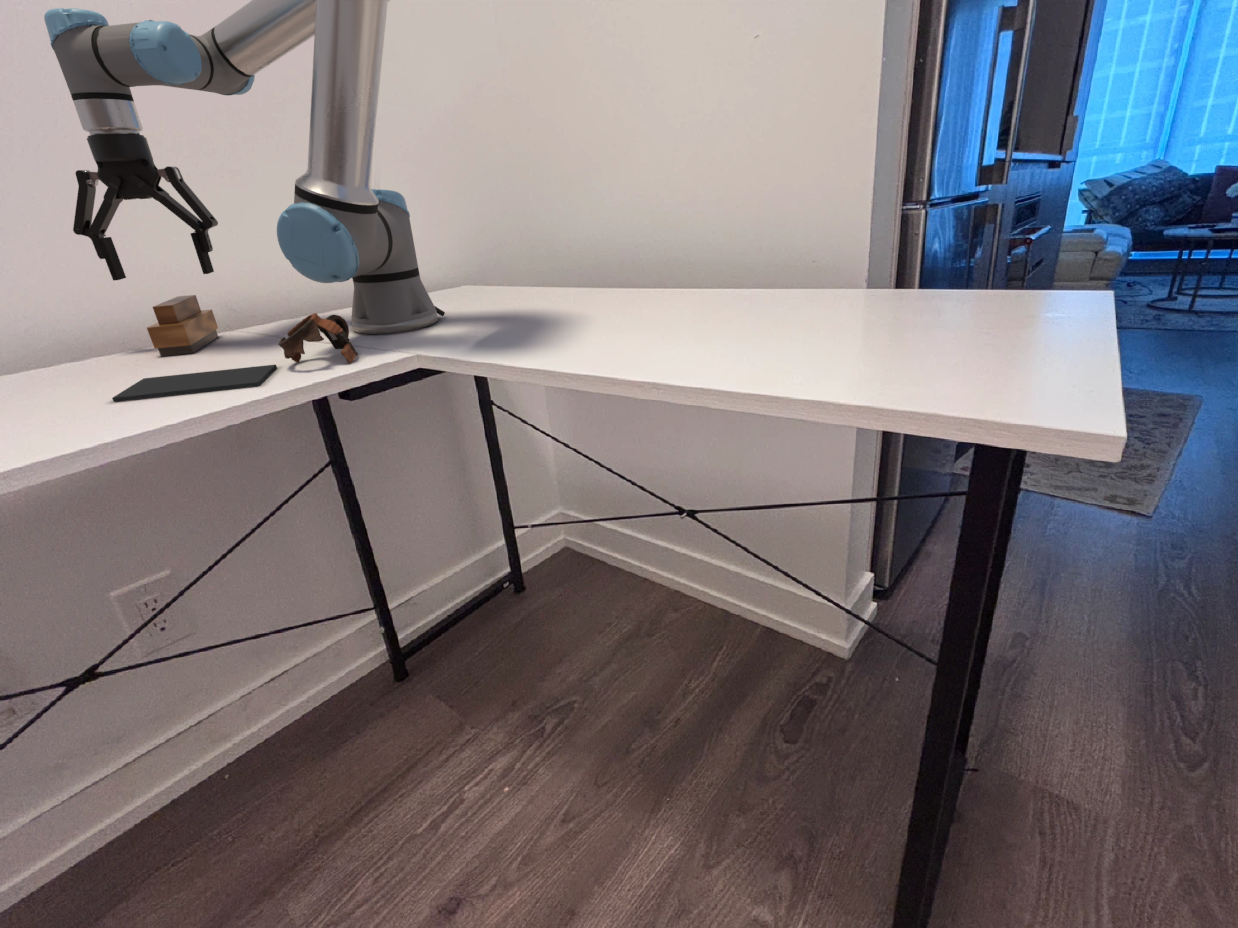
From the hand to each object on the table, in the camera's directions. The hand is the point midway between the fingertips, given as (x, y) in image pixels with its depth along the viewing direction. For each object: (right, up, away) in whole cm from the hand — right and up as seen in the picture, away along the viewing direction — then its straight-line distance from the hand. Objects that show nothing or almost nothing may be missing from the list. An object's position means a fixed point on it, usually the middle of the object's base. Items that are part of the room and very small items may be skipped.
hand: (164, 276), depth 105 cm
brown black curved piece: (+32, -16, -9) cm, 37 cm away
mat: (+17, -20, -17) cm, 32 cm away
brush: (+1, -11, +5) cm, 12 cm away
